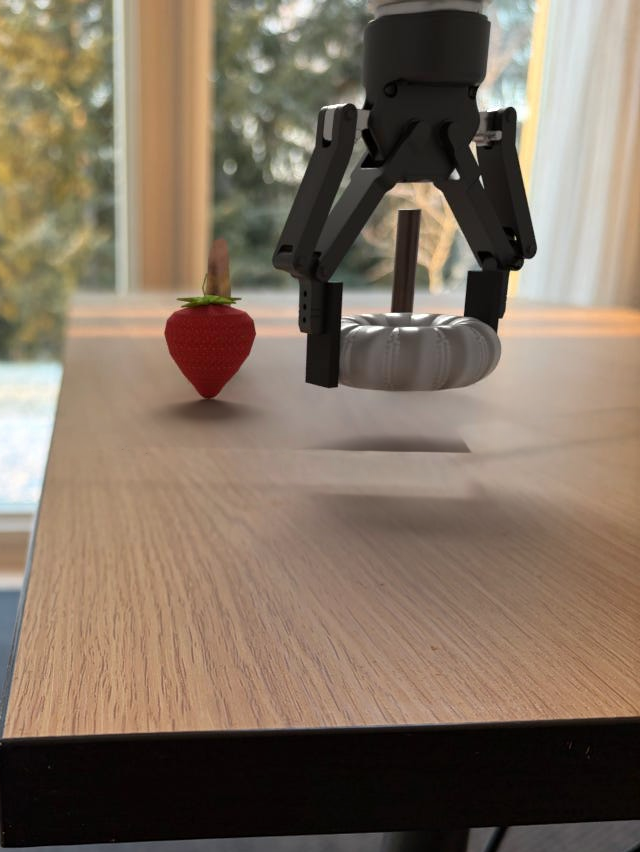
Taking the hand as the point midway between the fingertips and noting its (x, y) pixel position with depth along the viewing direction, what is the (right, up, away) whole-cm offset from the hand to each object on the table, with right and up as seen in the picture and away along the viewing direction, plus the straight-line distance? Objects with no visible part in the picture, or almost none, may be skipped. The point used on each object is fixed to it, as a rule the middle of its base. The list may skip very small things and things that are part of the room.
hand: (401, 376), depth 72 cm
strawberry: (-12, +2, +16) cm, 21 cm away
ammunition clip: (-11, +8, +30) cm, 33 cm away
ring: (0, +2, -1) cm, 2 cm away
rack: (+6, +7, +26) cm, 28 cm away
